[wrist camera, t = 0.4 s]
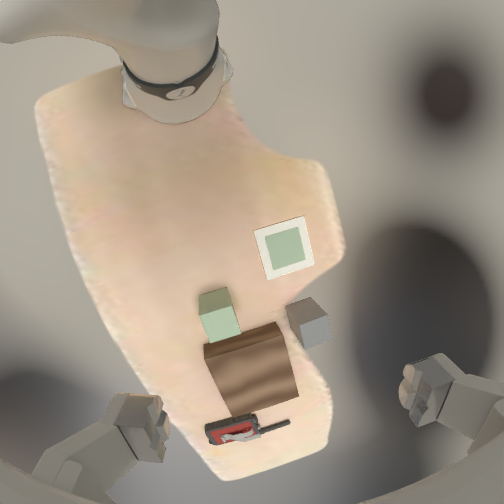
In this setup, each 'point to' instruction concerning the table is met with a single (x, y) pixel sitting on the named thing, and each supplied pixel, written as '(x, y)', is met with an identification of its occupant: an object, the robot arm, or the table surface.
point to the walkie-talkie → (237, 429)
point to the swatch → (284, 247)
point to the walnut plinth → (252, 369)
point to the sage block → (218, 315)
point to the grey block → (308, 322)
